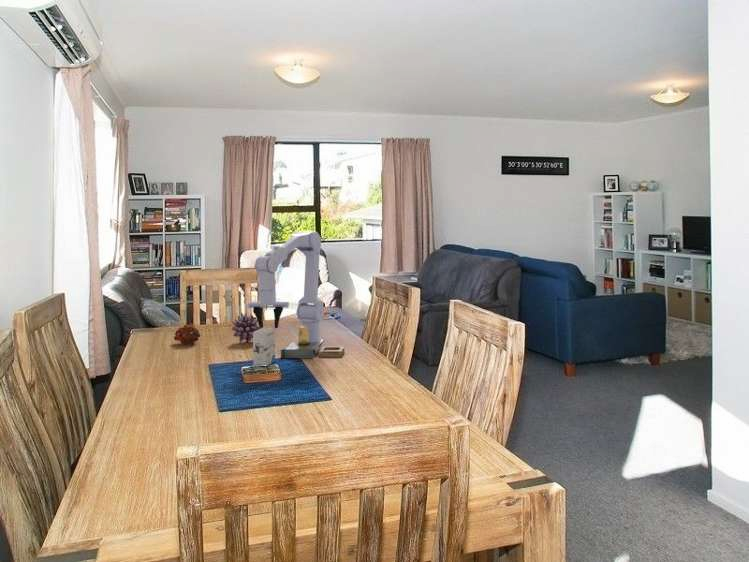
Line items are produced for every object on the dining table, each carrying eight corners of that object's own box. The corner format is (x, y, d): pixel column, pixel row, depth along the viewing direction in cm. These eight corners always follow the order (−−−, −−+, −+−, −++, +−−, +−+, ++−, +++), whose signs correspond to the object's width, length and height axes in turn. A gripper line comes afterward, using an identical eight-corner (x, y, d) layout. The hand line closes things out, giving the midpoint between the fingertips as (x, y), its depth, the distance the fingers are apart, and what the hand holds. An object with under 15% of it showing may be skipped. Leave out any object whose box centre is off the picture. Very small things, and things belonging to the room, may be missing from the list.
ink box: (262, 360, 216) (261, 327, 215) (276, 361, 215) (275, 327, 214) (253, 366, 208) (251, 332, 207) (267, 367, 207) (266, 332, 206)
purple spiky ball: (247, 338, 259) (246, 310, 258) (267, 341, 252) (266, 312, 251) (225, 343, 249) (224, 313, 248) (246, 346, 242) (245, 316, 241)
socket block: (292, 350, 233) (292, 342, 233) (319, 349, 232) (318, 342, 232) (285, 357, 220) (284, 349, 220) (313, 357, 219) (312, 349, 219)
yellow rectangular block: (300, 351, 231) (299, 326, 230) (309, 351, 230) (308, 325, 229) (298, 353, 227) (297, 327, 226) (307, 353, 227) (307, 327, 226)
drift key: (282, 355, 224) (282, 347, 224) (307, 355, 223) (307, 347, 223) (280, 357, 221) (280, 349, 221) (306, 357, 220) (305, 349, 220)
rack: (322, 352, 228) (322, 346, 228) (344, 352, 228) (344, 346, 227) (319, 357, 220) (319, 351, 220) (341, 356, 220) (341, 351, 219)
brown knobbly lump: (198, 349, 247) (177, 351, 253) (209, 334, 252) (188, 336, 258) (185, 334, 242) (165, 336, 248) (197, 319, 248) (176, 321, 254)
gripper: (244, 291, 217) (245, 330, 218) (285, 291, 216) (286, 329, 217) (249, 289, 224) (251, 326, 225) (289, 288, 223) (290, 326, 224)
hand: (268, 327), depth 222 cm, fingers open, 5 cm apart
